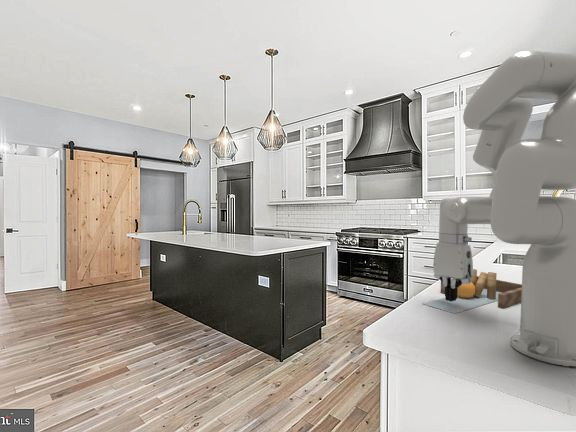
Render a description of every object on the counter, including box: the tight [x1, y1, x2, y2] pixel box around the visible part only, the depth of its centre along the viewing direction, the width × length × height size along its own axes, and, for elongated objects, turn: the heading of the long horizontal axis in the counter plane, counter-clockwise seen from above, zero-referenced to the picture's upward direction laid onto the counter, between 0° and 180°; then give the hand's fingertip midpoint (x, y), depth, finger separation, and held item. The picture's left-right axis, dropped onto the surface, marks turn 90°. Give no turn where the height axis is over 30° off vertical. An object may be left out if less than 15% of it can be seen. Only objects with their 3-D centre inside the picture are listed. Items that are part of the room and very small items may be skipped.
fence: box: [440, 275, 522, 309], centre depth 105 cm, size 20×20×4 cm
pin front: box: [473, 271, 488, 298], centre depth 103 cm, size 2×2×8 cm
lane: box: [421, 289, 502, 314], centre depth 100 cm, size 36×10×1 cm, turn 122°
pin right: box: [487, 271, 498, 300], centre depth 101 cm, size 2×2×8 cm
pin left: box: [470, 268, 478, 286], centre depth 106 cm, size 2×2×8 cm
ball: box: [457, 282, 475, 298], centre depth 102 cm, size 6×6×6 cm
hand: (450, 300), depth 94 cm, fingers closed
